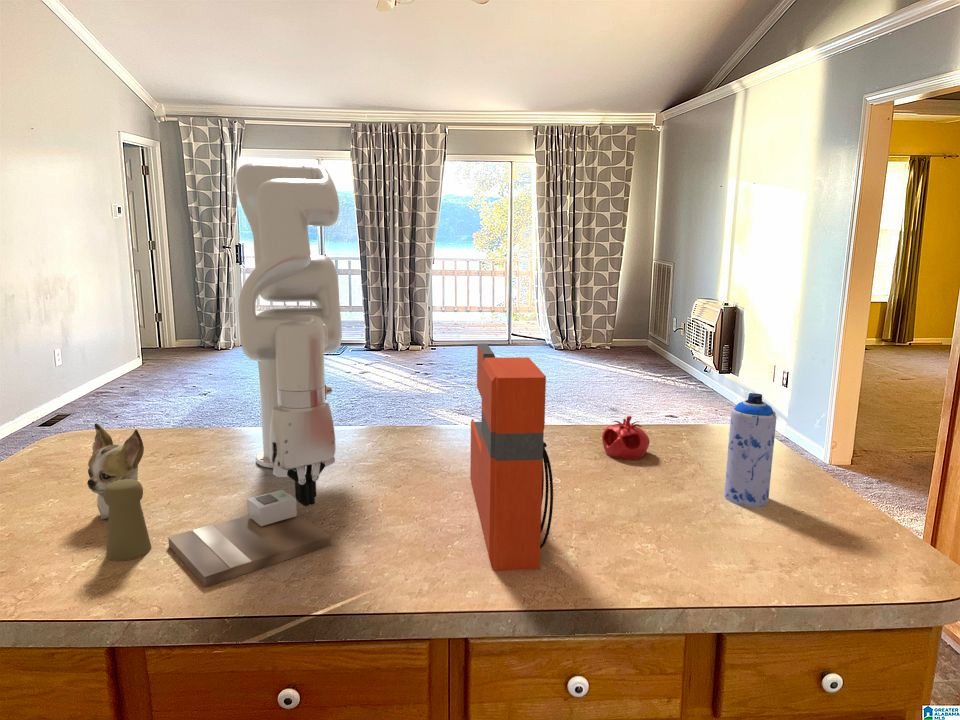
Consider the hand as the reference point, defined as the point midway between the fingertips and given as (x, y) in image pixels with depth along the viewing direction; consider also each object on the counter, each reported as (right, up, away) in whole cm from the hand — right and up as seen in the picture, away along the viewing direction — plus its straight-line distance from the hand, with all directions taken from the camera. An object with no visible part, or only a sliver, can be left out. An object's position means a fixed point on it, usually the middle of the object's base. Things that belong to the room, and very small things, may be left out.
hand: (306, 502), depth 112 cm
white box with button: (-4, -1, -4) cm, 6 cm away
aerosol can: (+78, -2, +9) cm, 78 cm away
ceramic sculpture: (-33, -2, +1) cm, 33 cm away
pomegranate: (+61, +3, +33) cm, 69 cm away
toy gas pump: (+34, -3, +1) cm, 34 cm away
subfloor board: (-6, -4, -10) cm, 12 cm away
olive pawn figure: (-23, -5, -12) cm, 27 cm away
